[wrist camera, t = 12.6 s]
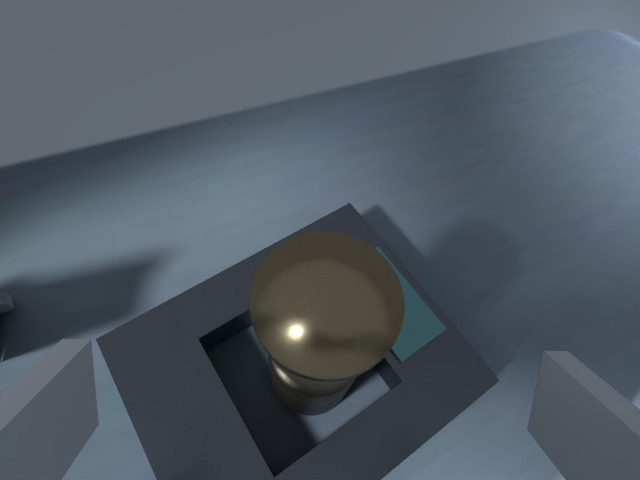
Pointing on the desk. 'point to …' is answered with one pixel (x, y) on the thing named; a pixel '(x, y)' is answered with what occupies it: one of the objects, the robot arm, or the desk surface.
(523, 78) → the desk surface
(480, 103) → the desk surface
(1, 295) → the electrical switch
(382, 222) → the desk surface
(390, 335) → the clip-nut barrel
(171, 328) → the rack plate
